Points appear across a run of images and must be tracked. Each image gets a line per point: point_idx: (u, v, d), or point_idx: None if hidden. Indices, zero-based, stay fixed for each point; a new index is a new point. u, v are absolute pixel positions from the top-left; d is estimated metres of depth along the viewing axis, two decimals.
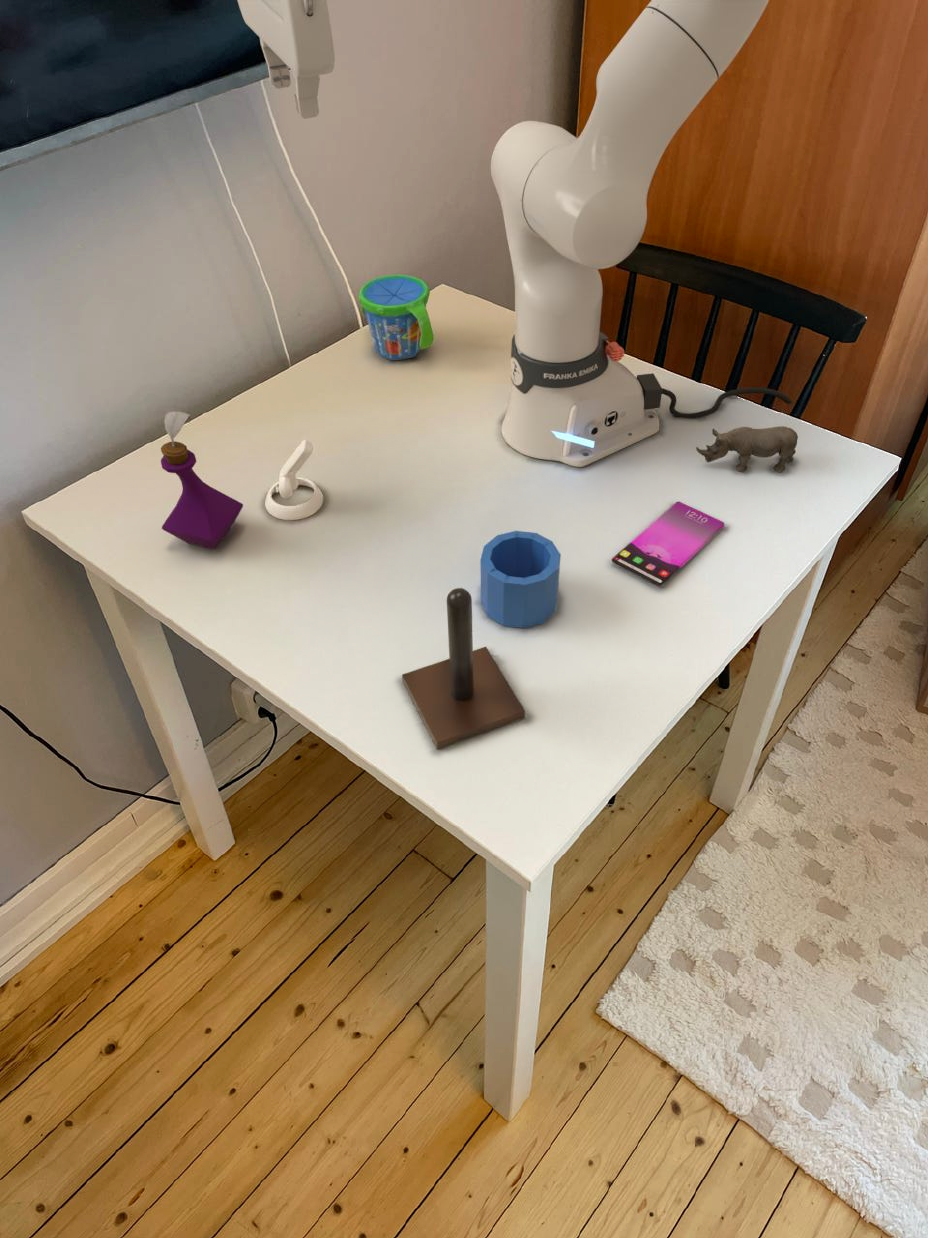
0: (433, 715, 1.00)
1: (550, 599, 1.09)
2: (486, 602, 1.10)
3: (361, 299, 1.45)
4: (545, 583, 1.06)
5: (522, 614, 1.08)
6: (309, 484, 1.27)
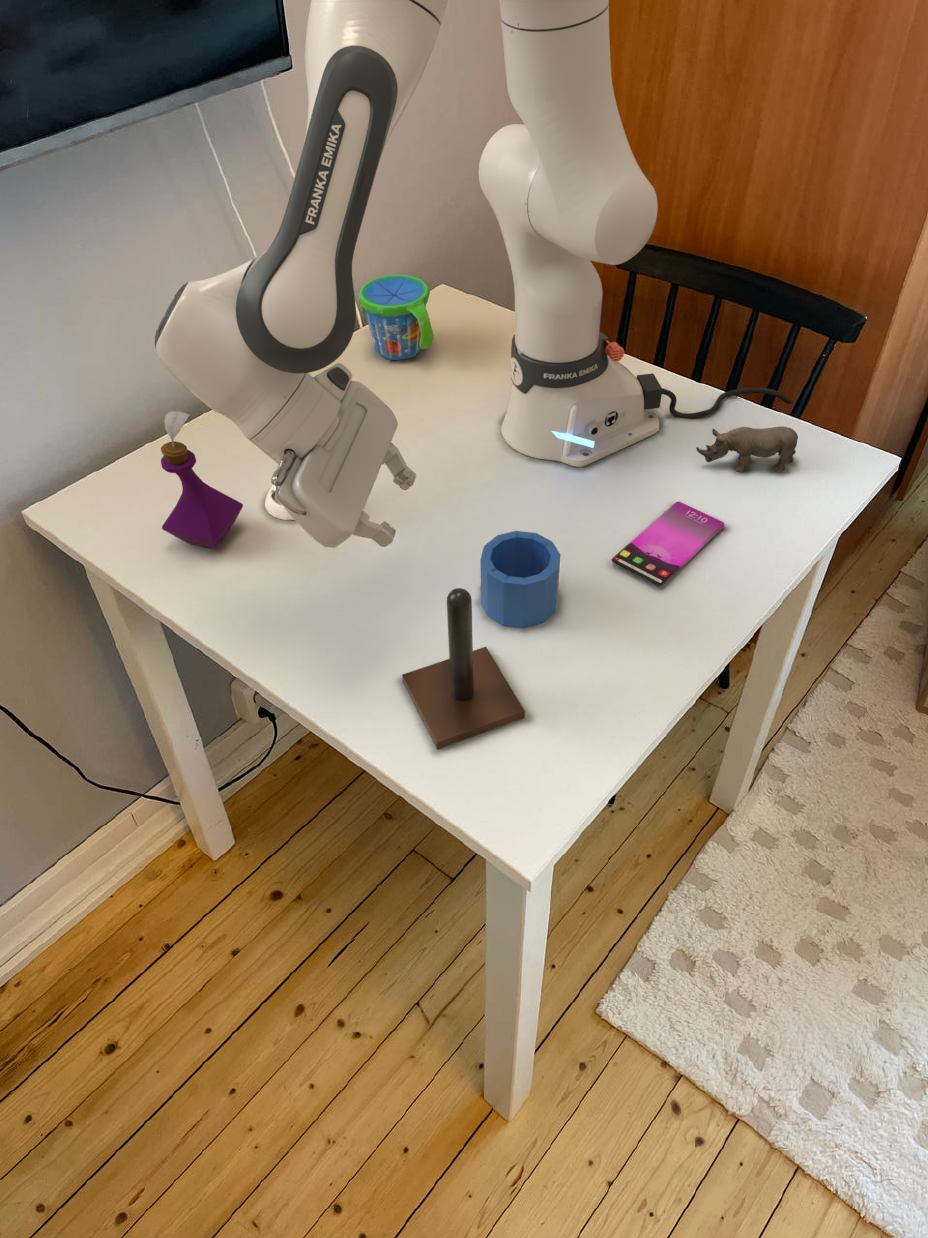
0: (433, 715, 1.00)
1: (550, 599, 1.09)
2: (486, 602, 1.10)
3: (361, 299, 1.45)
4: (545, 583, 1.06)
5: (522, 614, 1.08)
6: None
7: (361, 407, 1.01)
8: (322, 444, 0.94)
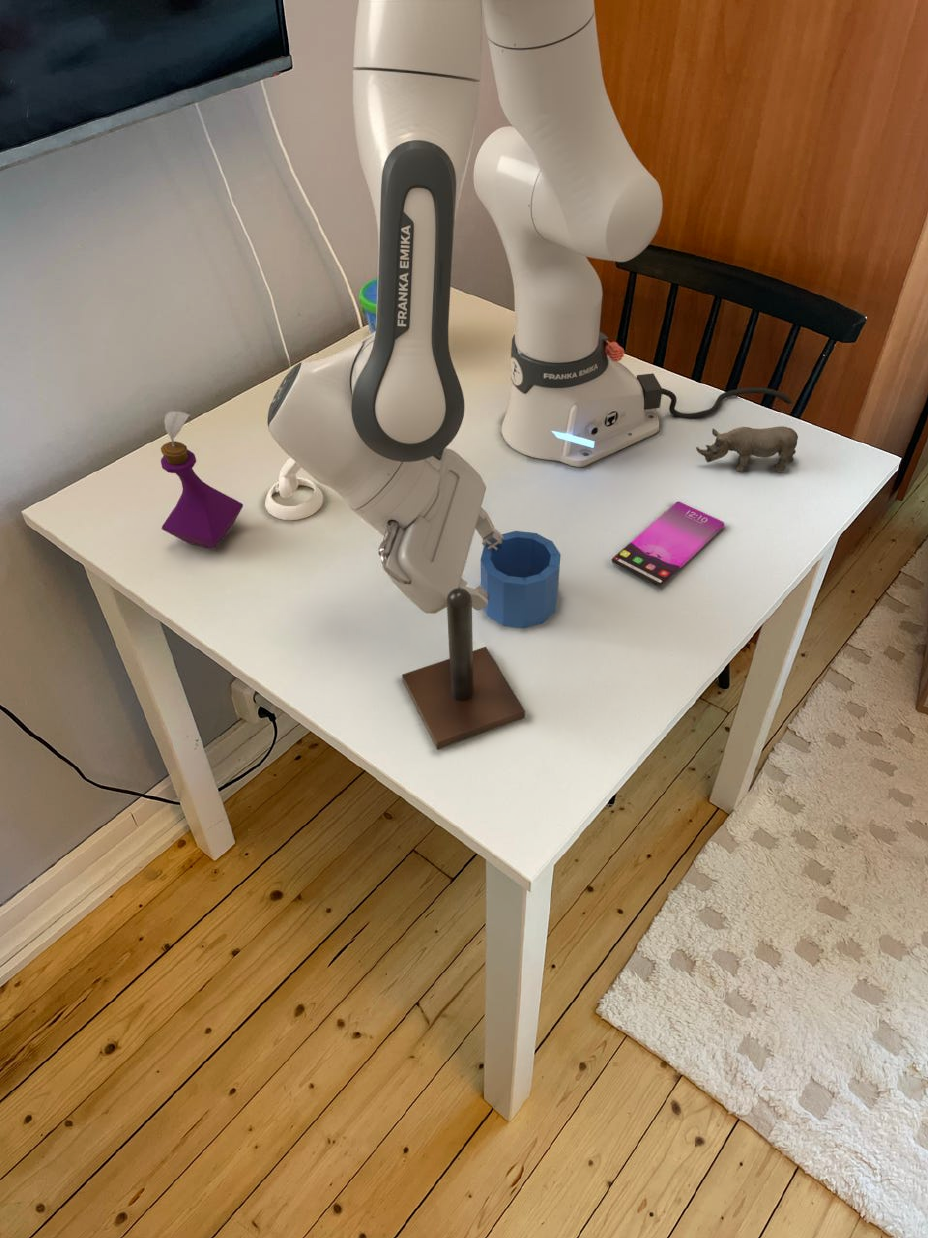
0: (433, 715, 1.00)
1: (550, 599, 1.09)
2: None
3: (361, 299, 1.45)
4: (545, 583, 1.06)
5: (522, 614, 1.08)
6: (309, 484, 1.27)
7: (453, 474, 1.05)
8: (423, 514, 0.98)
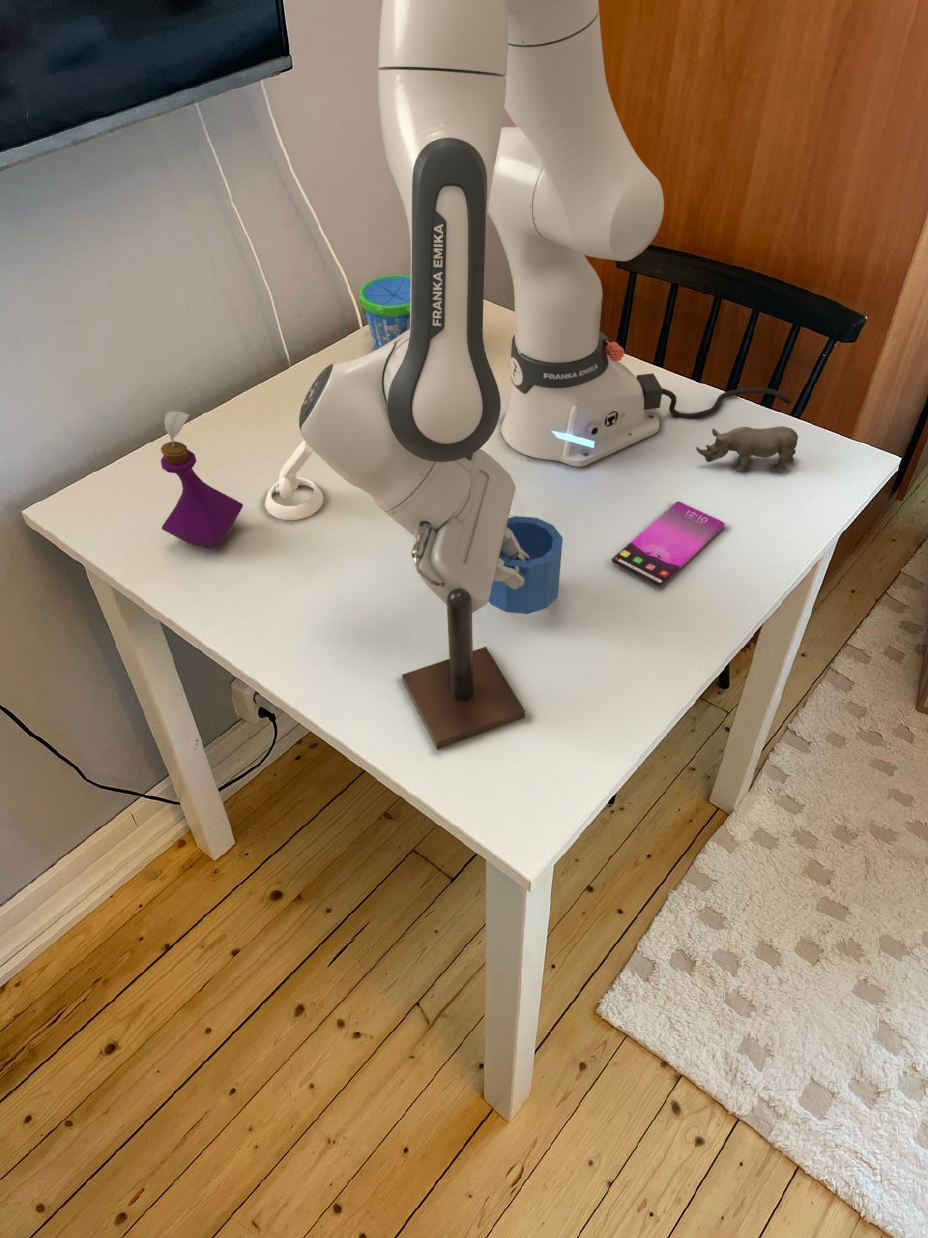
0: (433, 715, 1.00)
1: (553, 583, 1.07)
2: None
3: (361, 299, 1.45)
4: (549, 566, 1.04)
5: (525, 599, 1.06)
6: (309, 484, 1.27)
7: (483, 473, 1.05)
8: (455, 515, 0.97)
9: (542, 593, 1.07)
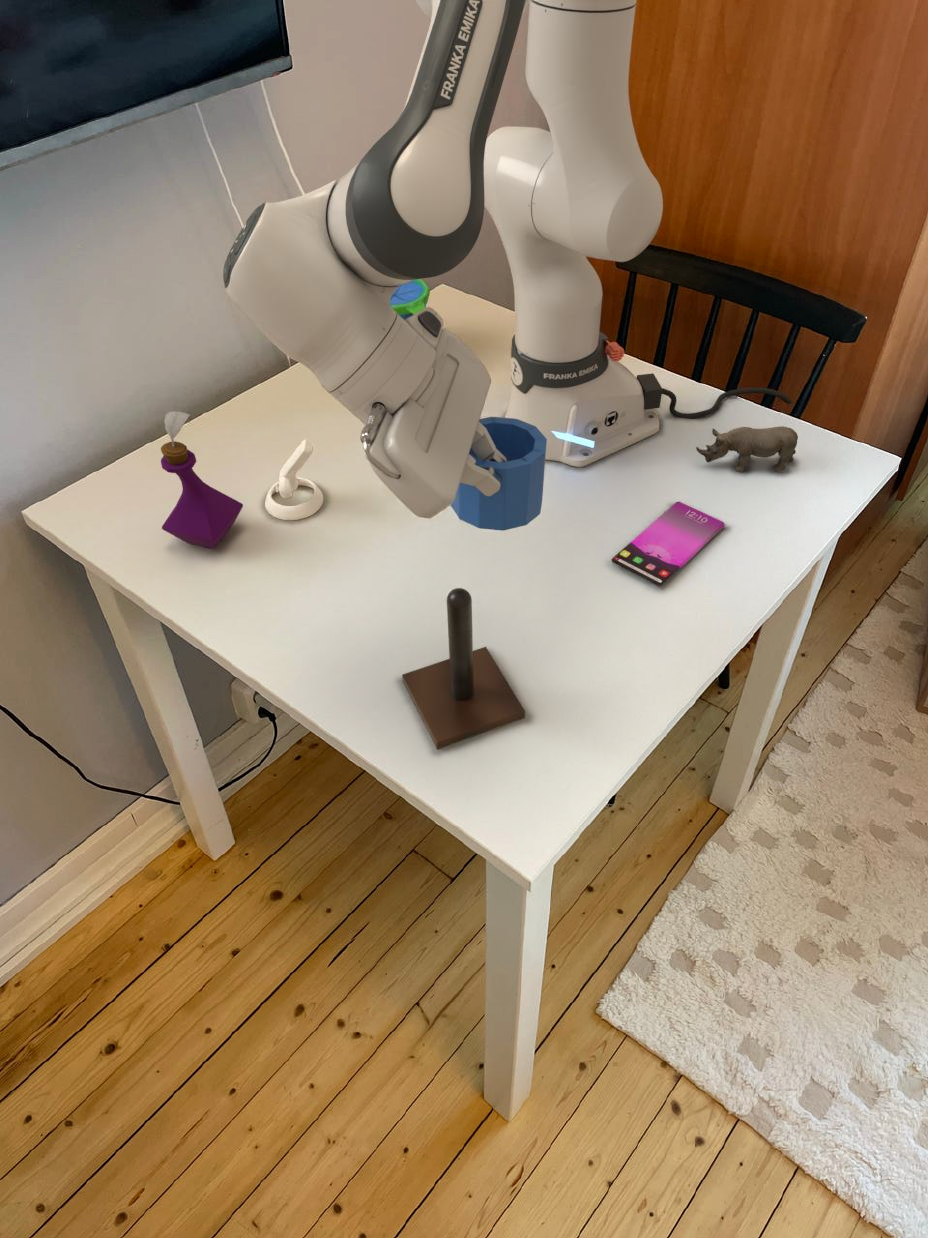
0: (433, 715, 1.00)
1: (535, 494, 0.90)
2: (458, 500, 0.91)
3: None
4: (530, 469, 0.87)
5: (502, 511, 0.89)
6: (309, 484, 1.27)
7: (453, 359, 0.88)
8: (415, 397, 0.80)
9: (522, 504, 0.90)
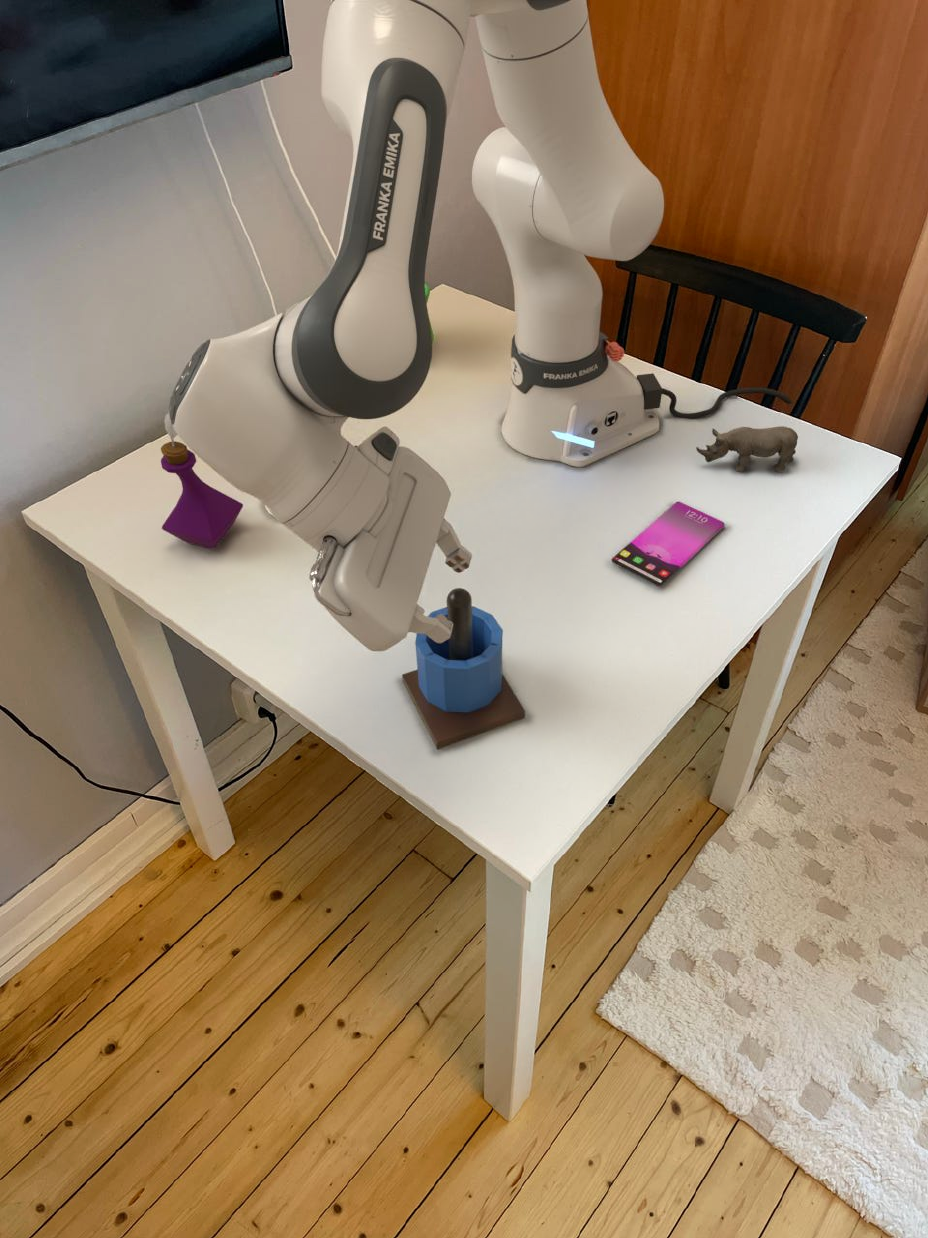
0: (433, 715, 1.00)
1: (495, 679, 0.99)
2: (425, 687, 1.00)
3: None
4: (489, 664, 0.96)
5: (466, 698, 0.98)
6: None
7: (410, 477, 0.86)
8: (368, 528, 0.79)
9: (483, 691, 0.99)
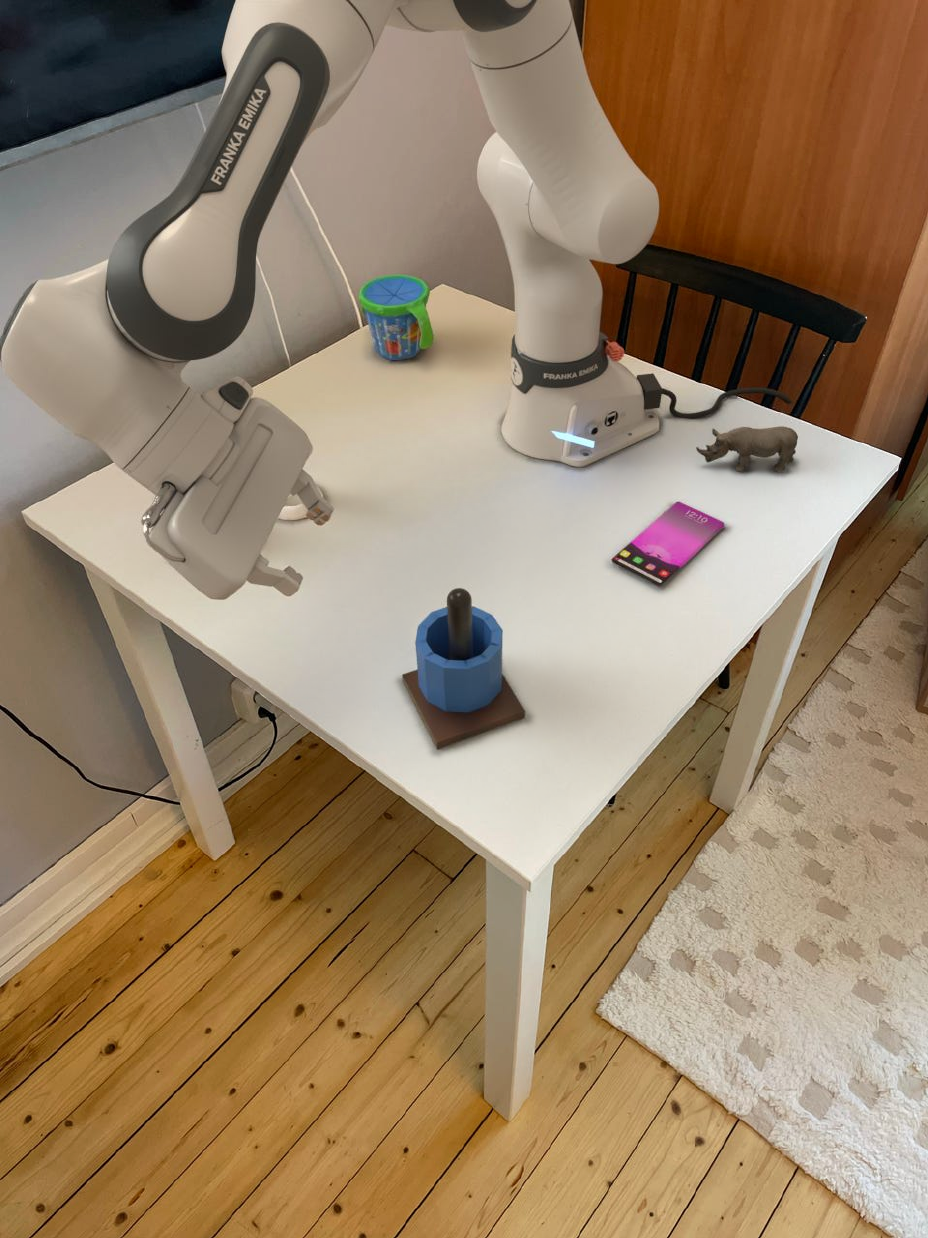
0: (433, 715, 1.00)
1: (495, 679, 0.99)
2: (425, 687, 1.00)
3: (361, 299, 1.45)
4: (489, 664, 0.96)
5: (466, 698, 0.98)
6: None
7: (266, 428, 0.86)
8: (209, 475, 0.78)
9: (483, 691, 0.99)
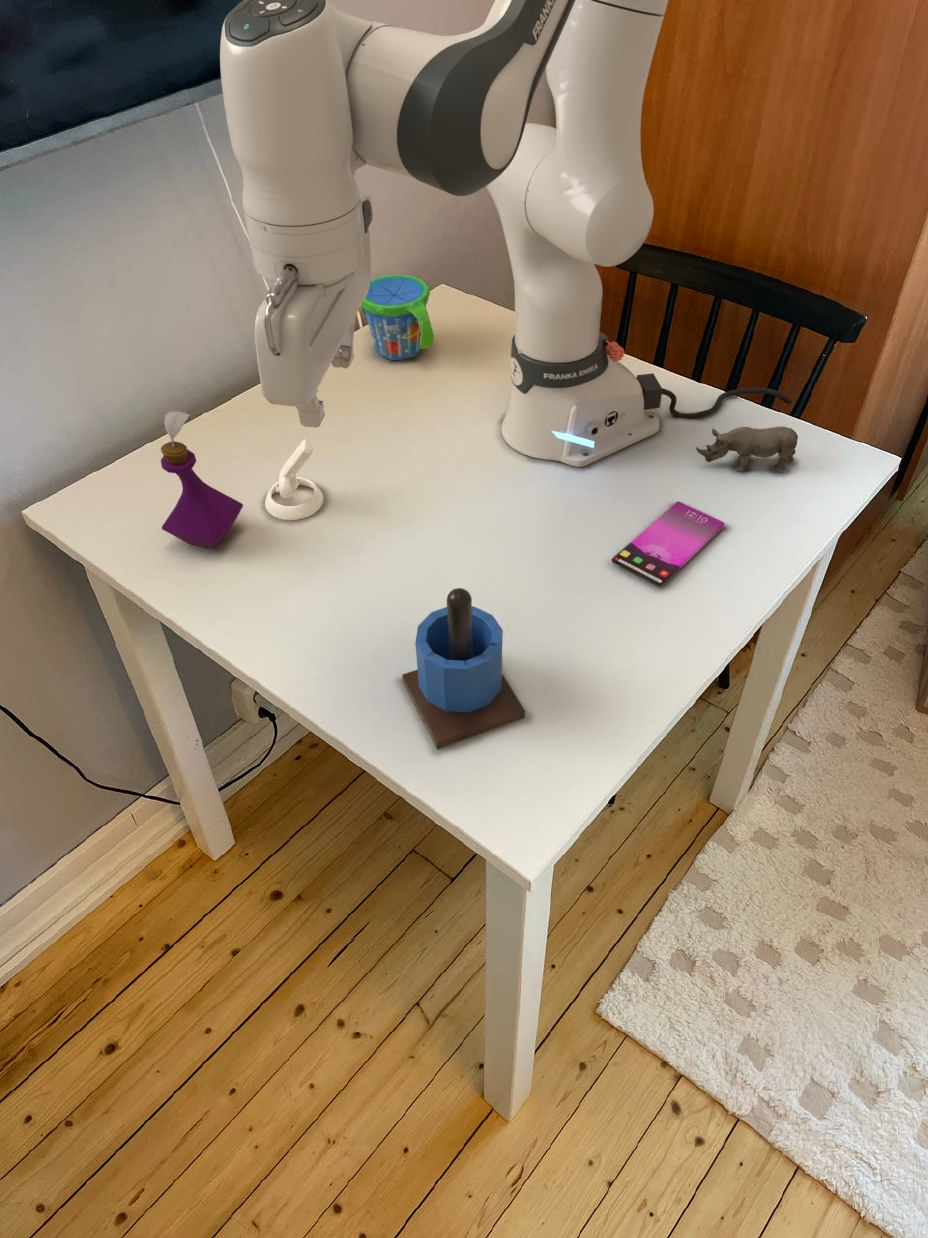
0: (433, 715, 1.00)
1: (495, 679, 0.99)
2: (425, 687, 1.00)
3: None
4: (489, 664, 0.96)
5: (466, 698, 0.98)
6: (309, 484, 1.27)
7: None
8: (325, 284, 0.75)
9: (483, 691, 0.99)
